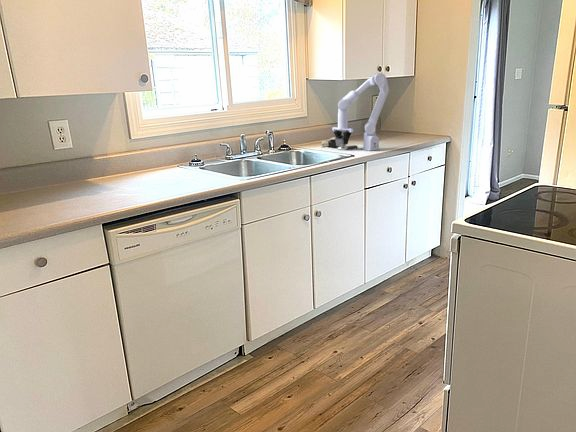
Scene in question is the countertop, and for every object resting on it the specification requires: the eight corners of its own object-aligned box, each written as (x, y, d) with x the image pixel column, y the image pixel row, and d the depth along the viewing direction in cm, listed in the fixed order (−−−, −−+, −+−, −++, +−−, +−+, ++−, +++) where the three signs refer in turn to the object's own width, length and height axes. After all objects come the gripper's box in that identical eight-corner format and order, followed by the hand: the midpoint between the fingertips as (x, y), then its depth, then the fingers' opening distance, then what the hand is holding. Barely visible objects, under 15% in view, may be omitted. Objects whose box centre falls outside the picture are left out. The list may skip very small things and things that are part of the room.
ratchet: (341, 150, 277) (341, 143, 276) (335, 149, 282) (335, 142, 281) (358, 148, 283) (359, 141, 282) (353, 147, 288) (353, 140, 287)
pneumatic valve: (322, 145, 299) (341, 144, 297) (320, 149, 288) (340, 148, 286) (322, 137, 297) (340, 136, 295) (320, 140, 287) (339, 139, 284)
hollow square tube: (348, 143, 280) (346, 135, 277) (342, 147, 277) (341, 139, 274) (341, 142, 283) (340, 134, 280) (336, 145, 280) (334, 138, 278)
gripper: (329, 120, 278) (329, 143, 282) (347, 121, 268) (347, 145, 272) (336, 119, 283) (336, 141, 287) (355, 120, 273) (355, 144, 277)
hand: (342, 143), depth 280 cm, fingers closed on hollow square tube, 5 cm apart
